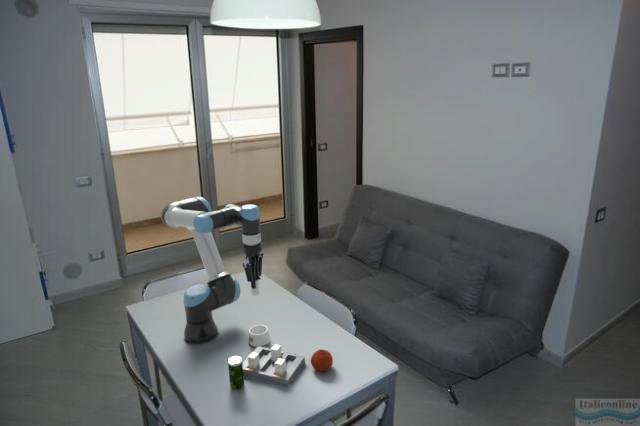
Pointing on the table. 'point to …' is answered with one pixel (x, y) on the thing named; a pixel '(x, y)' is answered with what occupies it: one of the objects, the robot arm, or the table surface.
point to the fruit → (321, 360)
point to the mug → (258, 335)
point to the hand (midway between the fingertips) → (255, 294)
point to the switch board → (268, 367)
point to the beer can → (236, 373)
